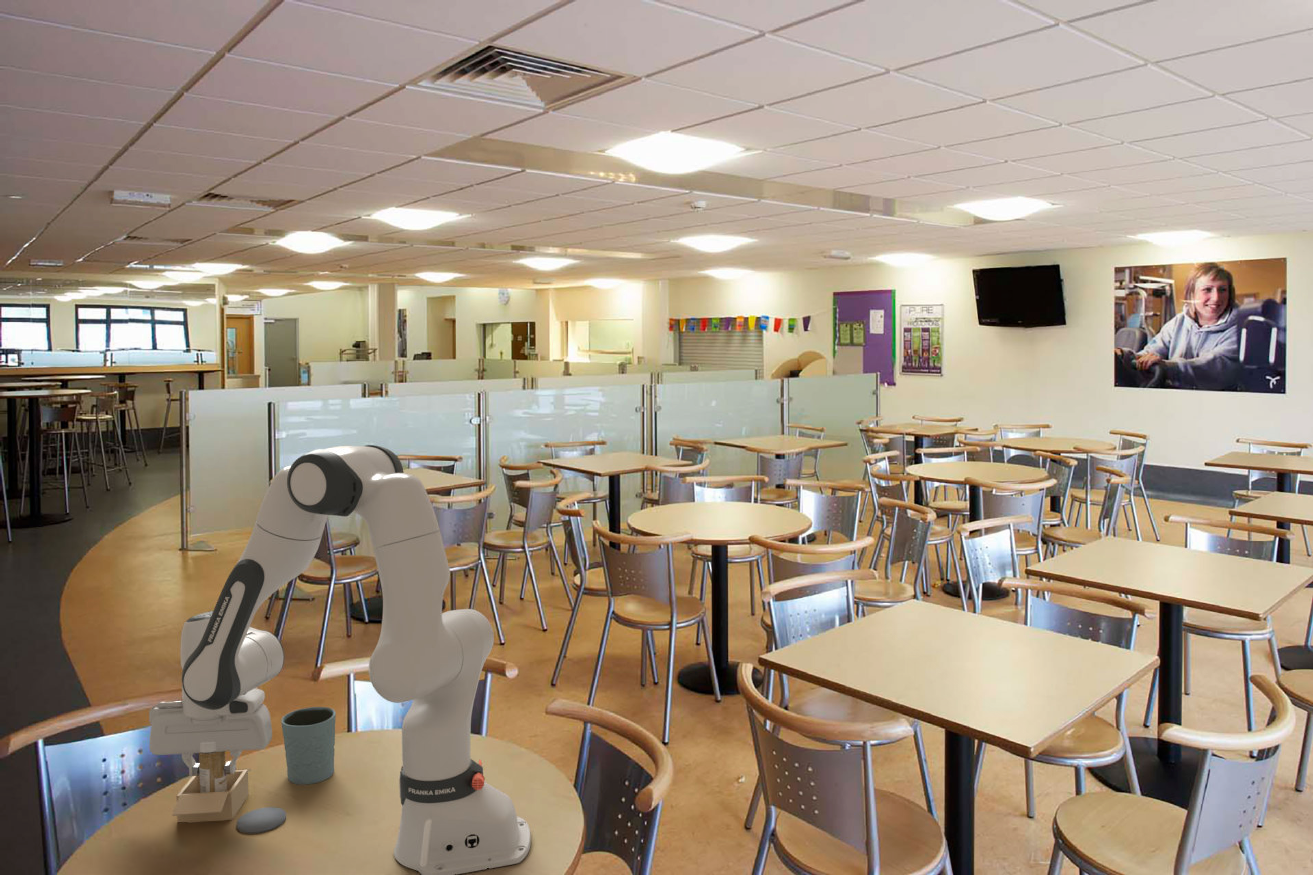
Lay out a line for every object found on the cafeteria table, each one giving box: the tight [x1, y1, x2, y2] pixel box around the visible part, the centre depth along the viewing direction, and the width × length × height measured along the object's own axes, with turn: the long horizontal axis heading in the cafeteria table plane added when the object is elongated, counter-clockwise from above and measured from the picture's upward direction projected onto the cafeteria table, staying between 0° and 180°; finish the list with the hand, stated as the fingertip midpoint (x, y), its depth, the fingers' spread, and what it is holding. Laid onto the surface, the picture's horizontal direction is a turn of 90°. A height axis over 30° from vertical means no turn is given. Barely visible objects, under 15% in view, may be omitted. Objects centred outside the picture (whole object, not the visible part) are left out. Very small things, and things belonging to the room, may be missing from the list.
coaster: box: [236, 806, 287, 834], centre depth 158 cm, size 8×8×1 cm
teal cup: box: [280, 706, 337, 786], centre depth 176 cm, size 10×10×12 cm
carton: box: [171, 768, 252, 823], centre depth 162 cm, size 9×17×5 cm, turn 8°
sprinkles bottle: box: [198, 742, 227, 793], centre depth 162 cm, size 5×5×14 cm
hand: (213, 773), depth 162 cm, fingers open, 5 cm apart
